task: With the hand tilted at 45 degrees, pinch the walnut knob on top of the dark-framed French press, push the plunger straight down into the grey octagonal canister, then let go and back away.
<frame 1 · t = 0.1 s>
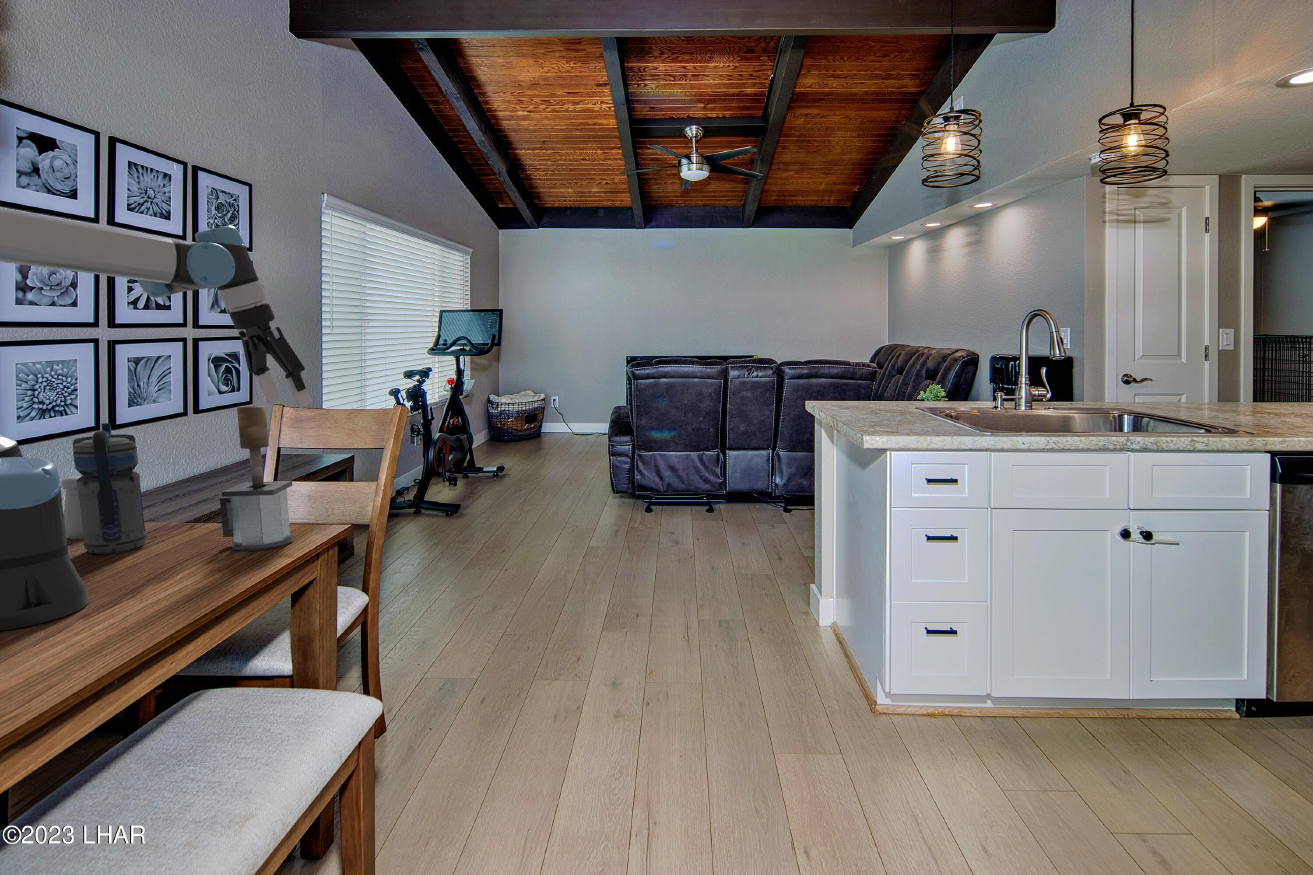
hand: (290, 403, 155), 28 cm above the table, tool tilted 20°, fingers open, 13 cm apart
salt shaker: (81, 537, 157), on the table
beverage bottle: (116, 550, 147), on the table
plunger: (254, 446, 147), point 20 cm above the table, slide at 0.0 cm
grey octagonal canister: (263, 543, 150), on the table
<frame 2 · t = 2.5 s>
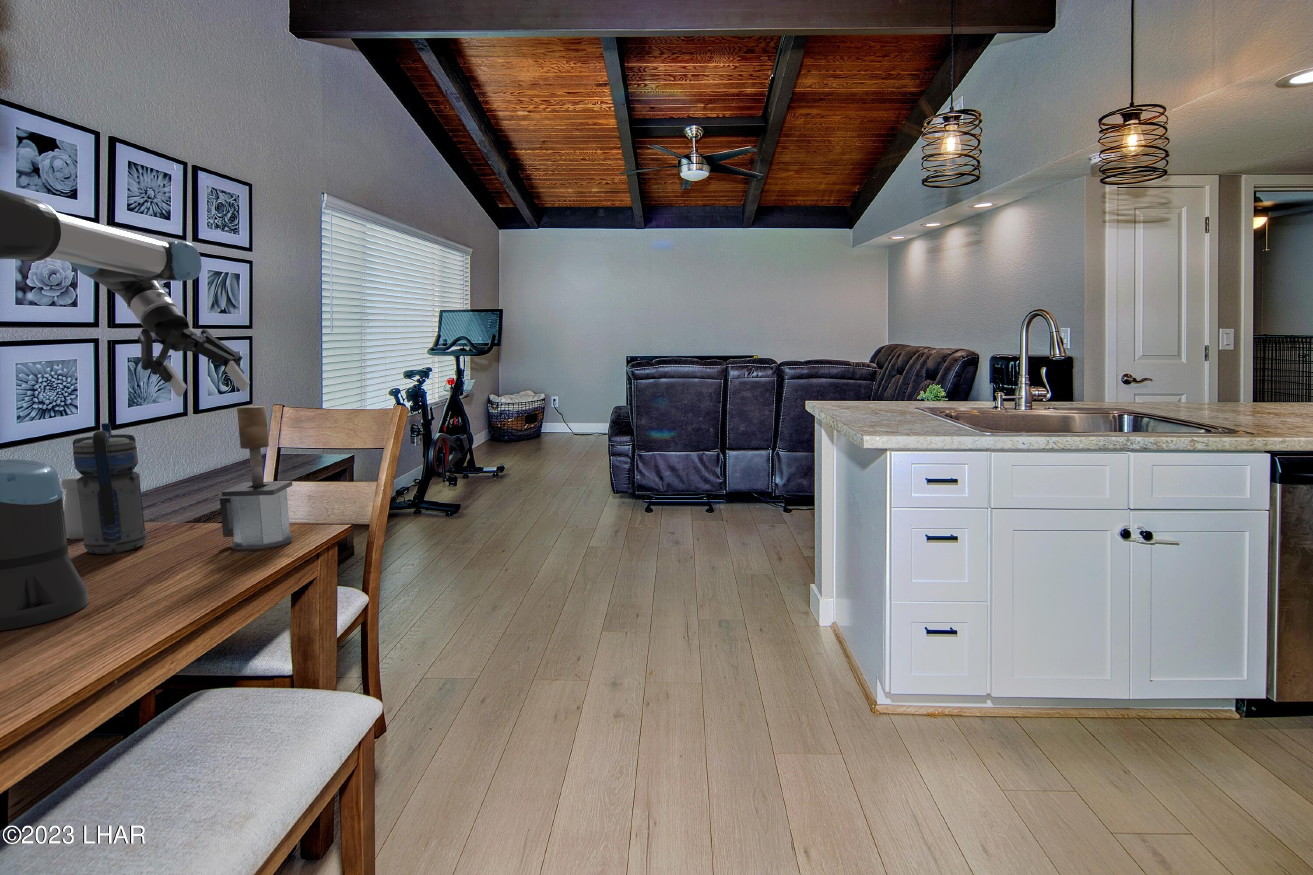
hand: (215, 389, 150), 31 cm above the table, tool tilted 45°, fingers open, 13 cm apart
nothing on the table moved.
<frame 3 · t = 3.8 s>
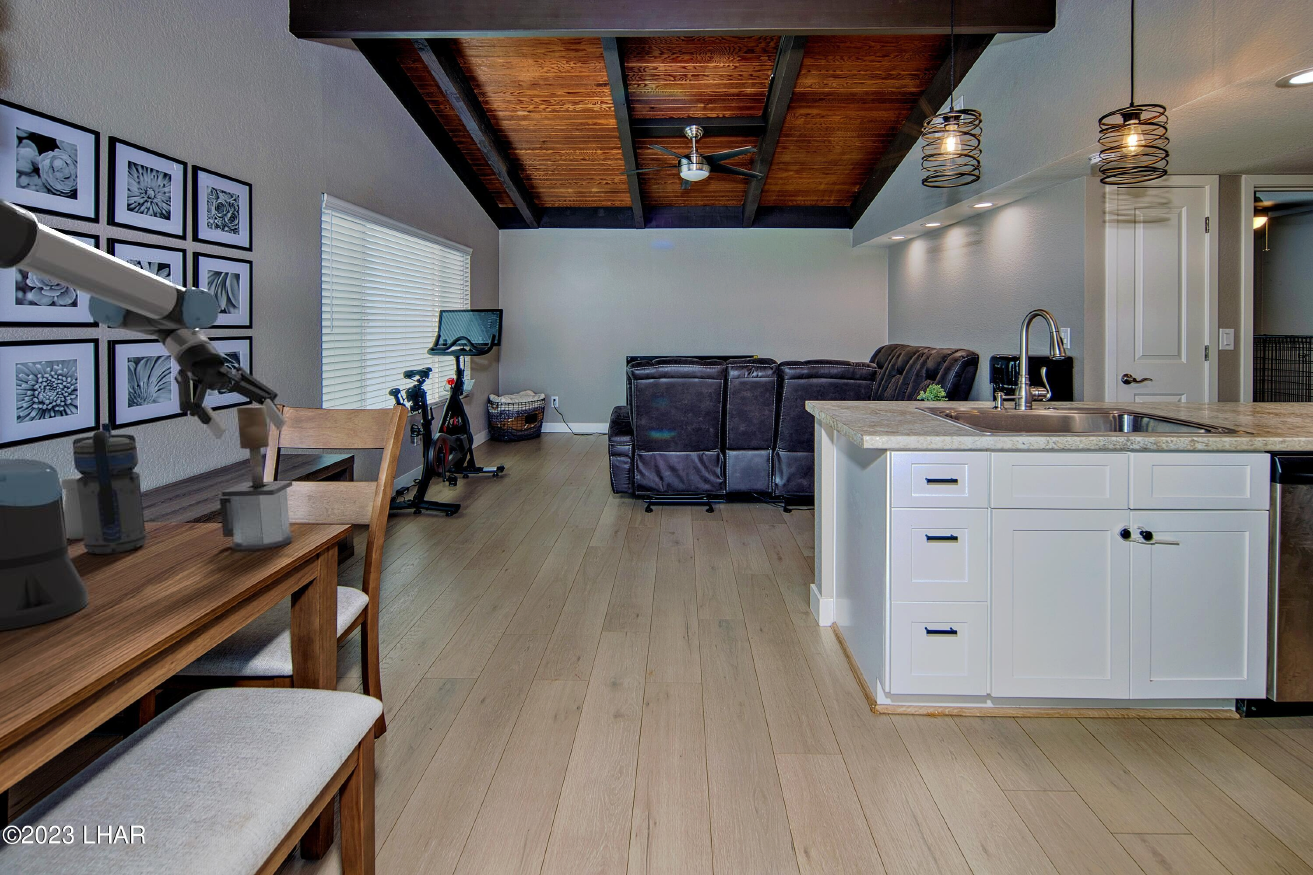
hand: (253, 430, 147), 23 cm above the table, tool tilted 45°, fingers open, 13 cm apart
nothing on the table moved.
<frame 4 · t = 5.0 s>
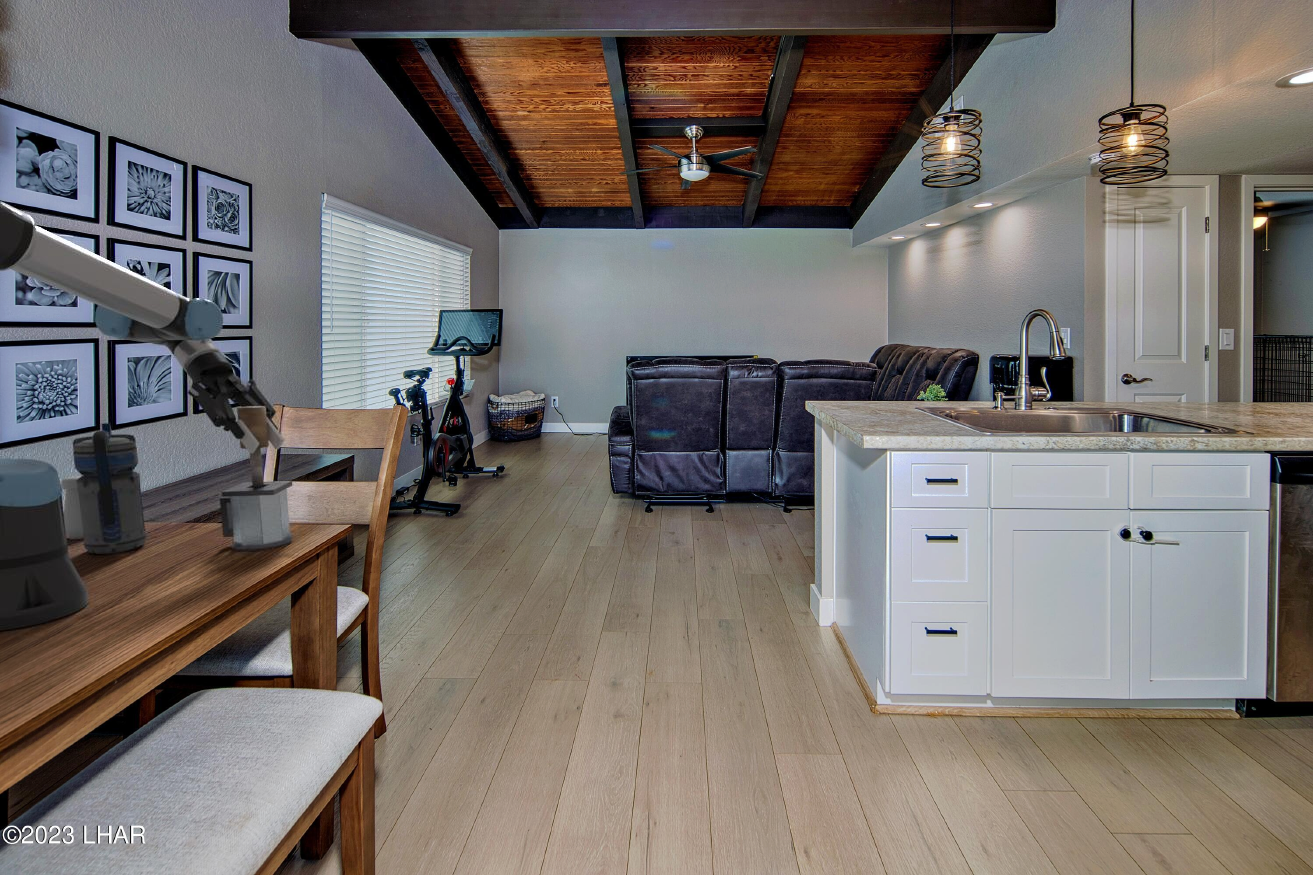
hand: (267, 446, 146), 20 cm above the table, tool tilted 45°, fingers closed on plunger, 5 cm apart
plunger: (254, 446, 147), point 20 cm above the table, slide at 0.0 cm, touching gripper
everything else where it was.
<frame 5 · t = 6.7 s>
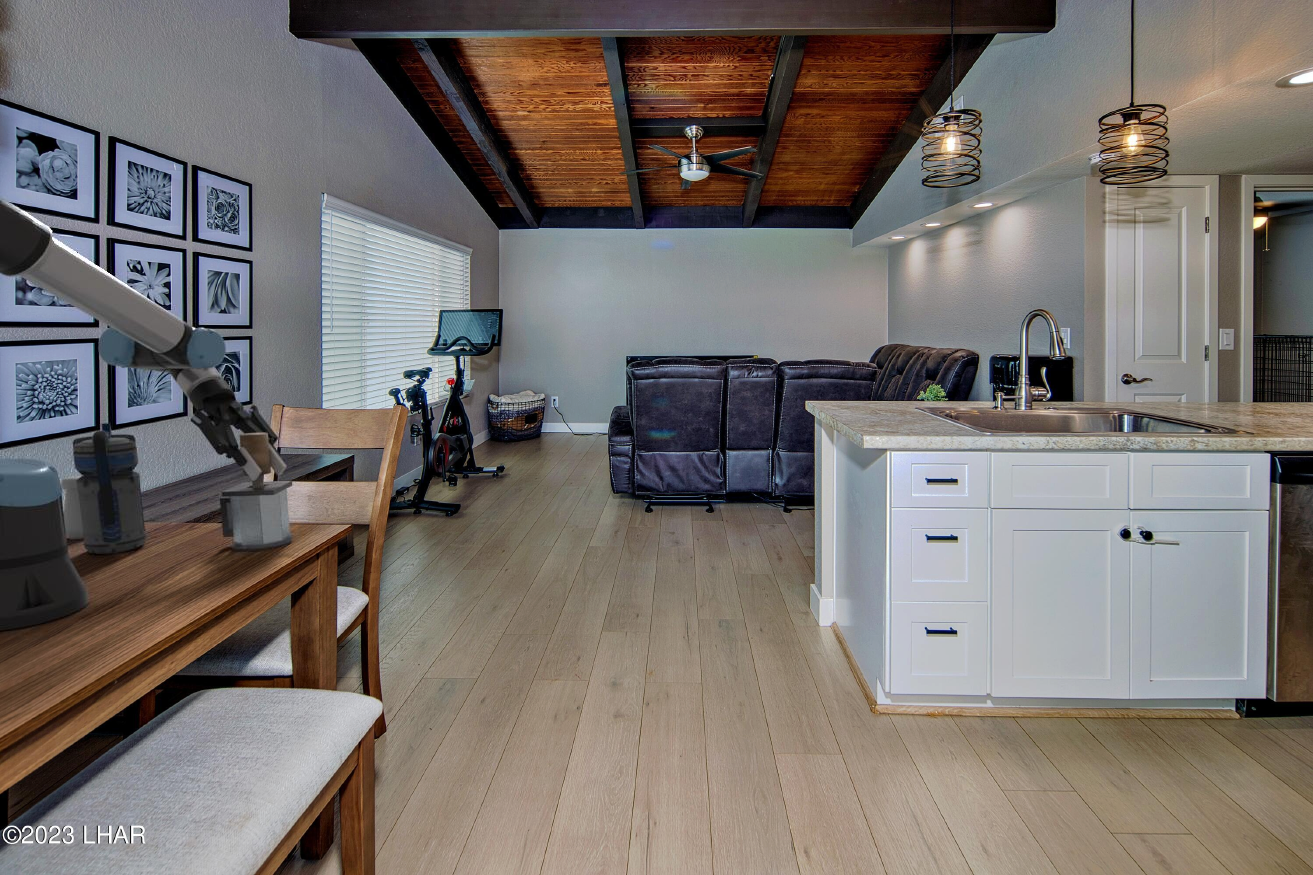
hand: (269, 473, 146), 15 cm above the table, tool tilted 45°, fingers closed on plunger, 5 cm apart
plunger: (257, 473, 148), point 15 cm above the table, slide at 5.4 cm, touching gripper
everything else where it was.
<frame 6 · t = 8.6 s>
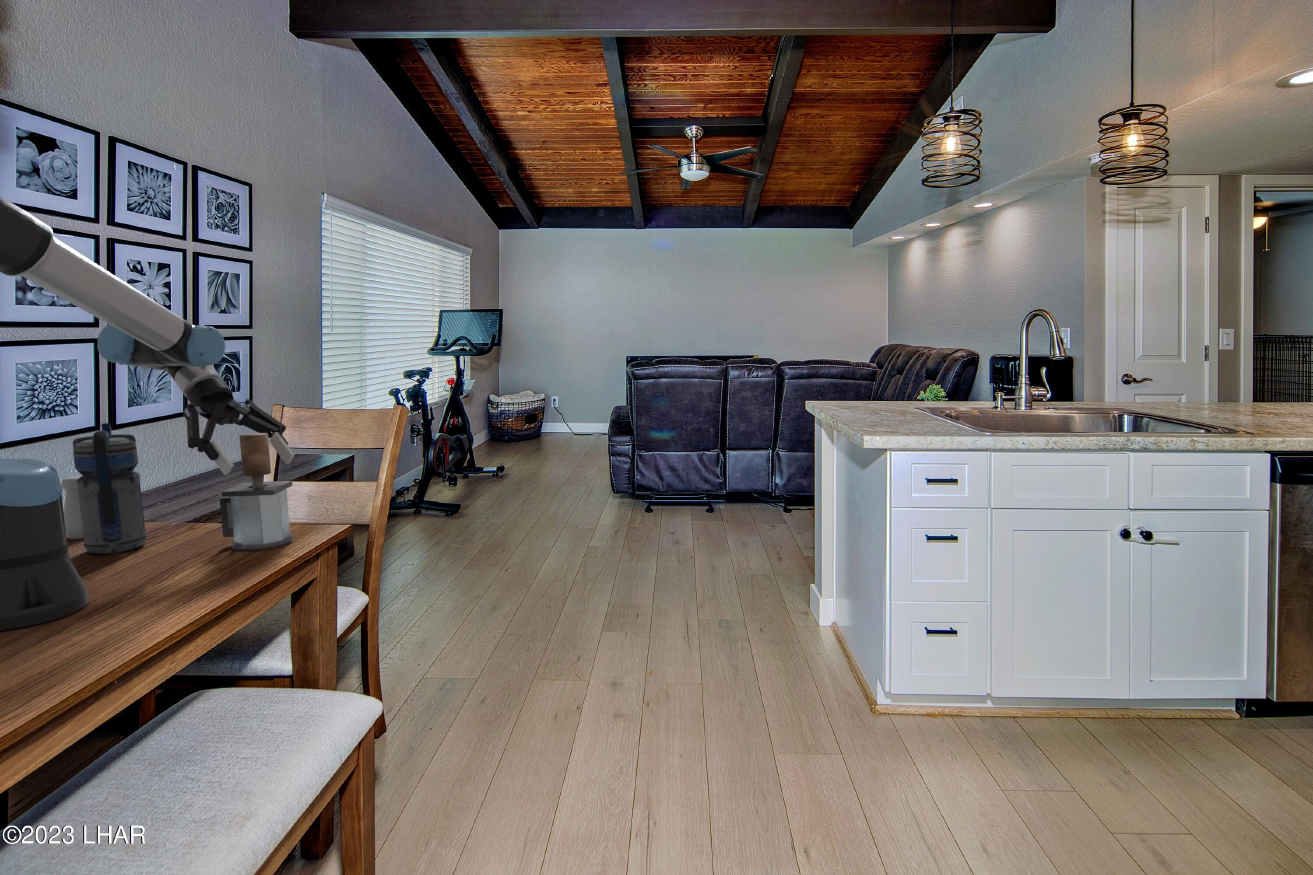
hand: (261, 464, 147), 16 cm above the table, tool tilted 45°, fingers open, 13 cm apart
plunger: (257, 473, 148), point 14 cm above the table, slide at 5.5 cm
everything else where it was.
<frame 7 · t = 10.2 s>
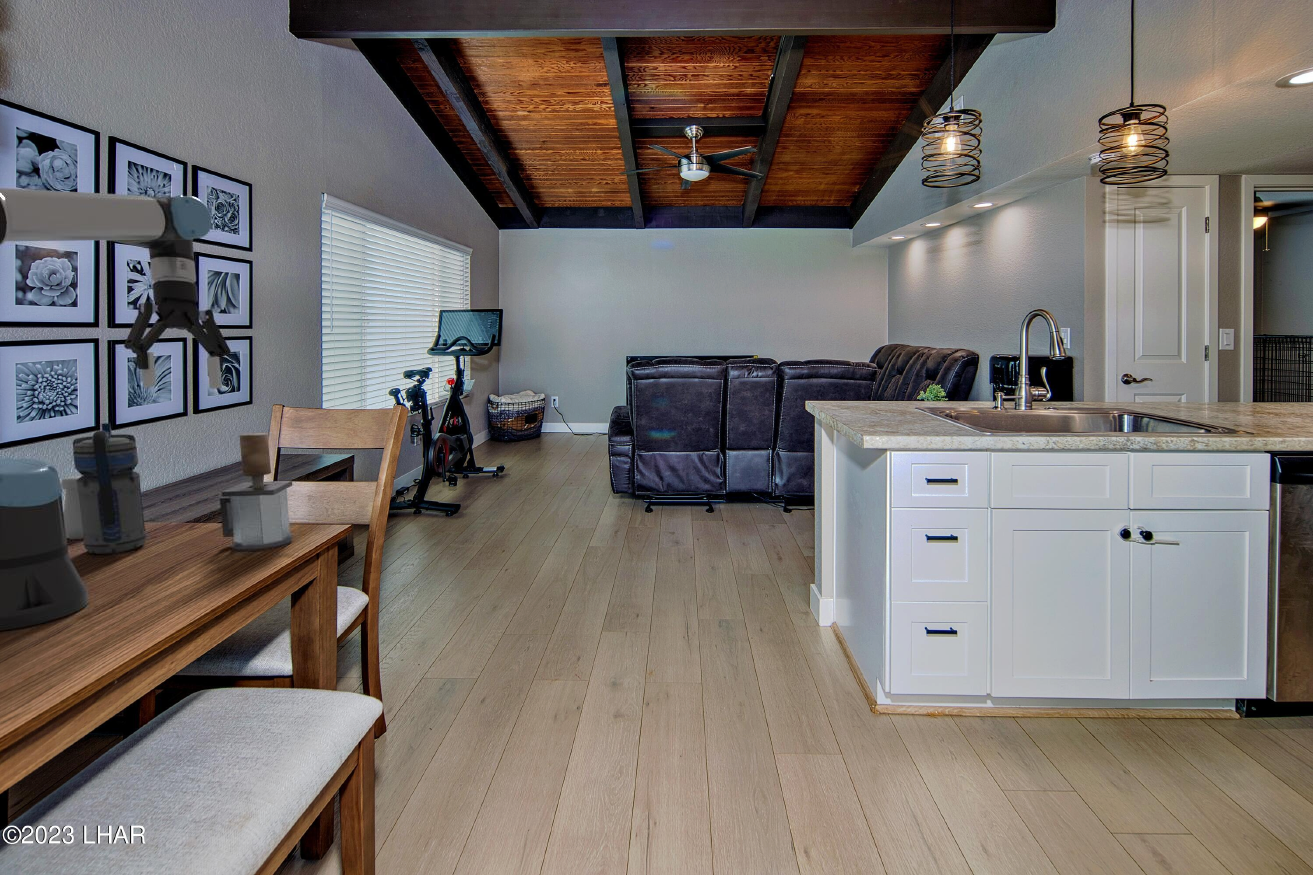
hand: (184, 387, 148), 32 cm above the table, tool pointing down, fingers open, 13 cm apart
nothing on the table moved.
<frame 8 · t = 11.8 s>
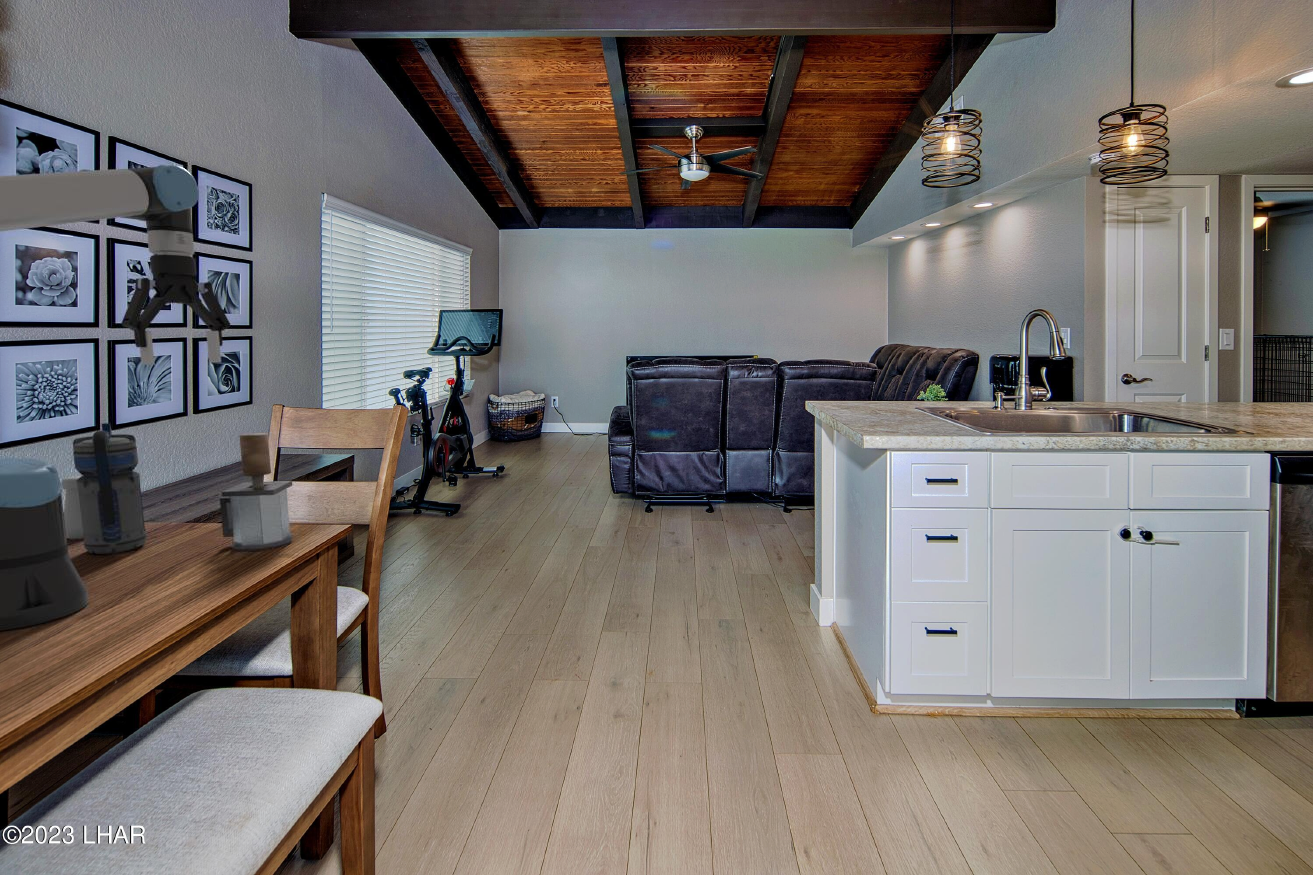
hand: (183, 363, 147), 37 cm above the table, tool pointing down, fingers open, 13 cm apart
nothing on the table moved.
at the end: plunger slide at 5.5 cm; the gripper is holding nothing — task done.
